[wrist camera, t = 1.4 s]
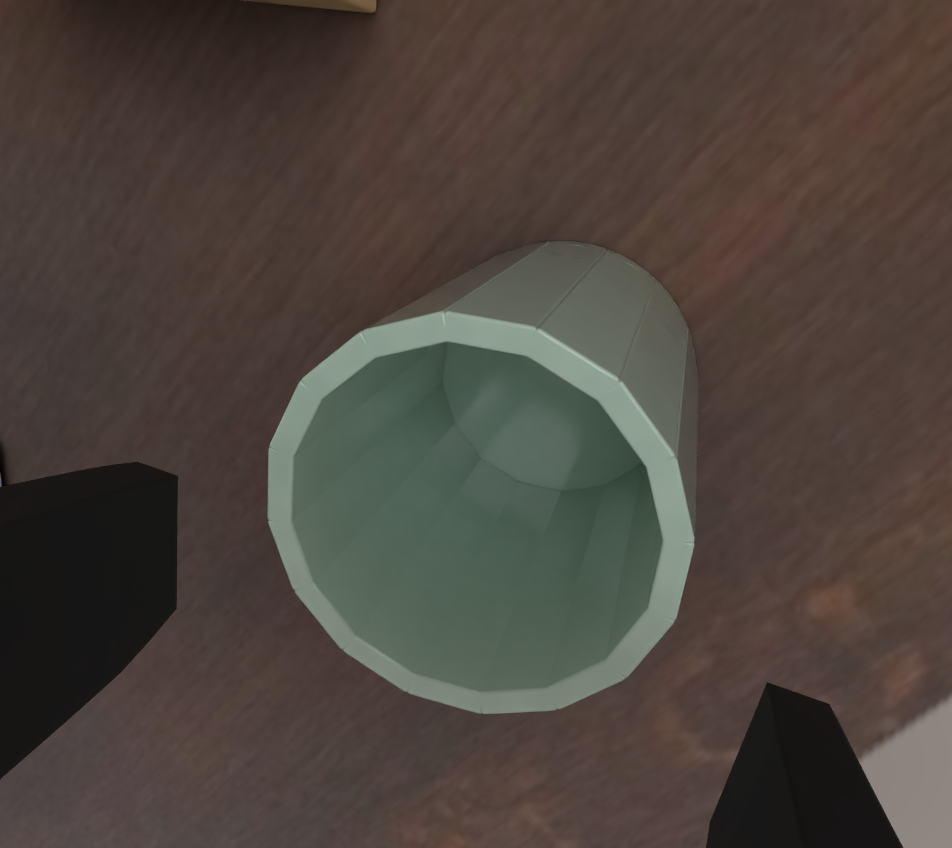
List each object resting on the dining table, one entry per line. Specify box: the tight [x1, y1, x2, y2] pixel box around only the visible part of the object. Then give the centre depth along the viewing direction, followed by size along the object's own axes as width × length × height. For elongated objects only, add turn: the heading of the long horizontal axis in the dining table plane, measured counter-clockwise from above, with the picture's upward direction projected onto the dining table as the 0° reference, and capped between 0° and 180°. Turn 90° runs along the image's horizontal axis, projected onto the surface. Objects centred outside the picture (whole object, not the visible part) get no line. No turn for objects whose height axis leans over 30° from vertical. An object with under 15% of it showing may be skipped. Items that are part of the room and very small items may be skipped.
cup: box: [267, 241, 699, 714], centre depth 14 cm, size 6×6×8 cm
